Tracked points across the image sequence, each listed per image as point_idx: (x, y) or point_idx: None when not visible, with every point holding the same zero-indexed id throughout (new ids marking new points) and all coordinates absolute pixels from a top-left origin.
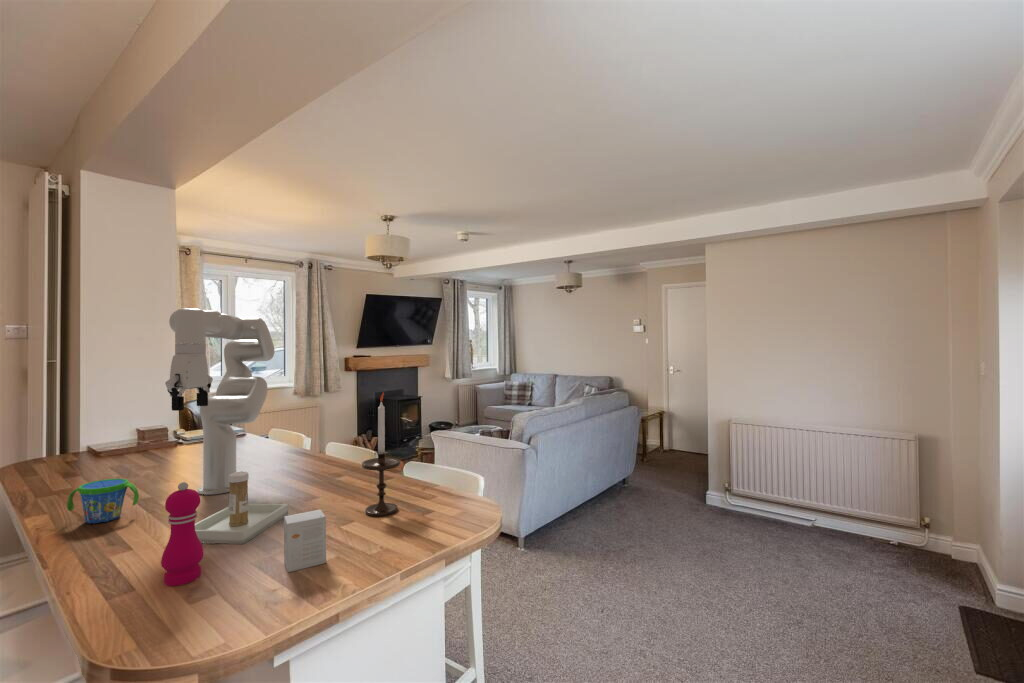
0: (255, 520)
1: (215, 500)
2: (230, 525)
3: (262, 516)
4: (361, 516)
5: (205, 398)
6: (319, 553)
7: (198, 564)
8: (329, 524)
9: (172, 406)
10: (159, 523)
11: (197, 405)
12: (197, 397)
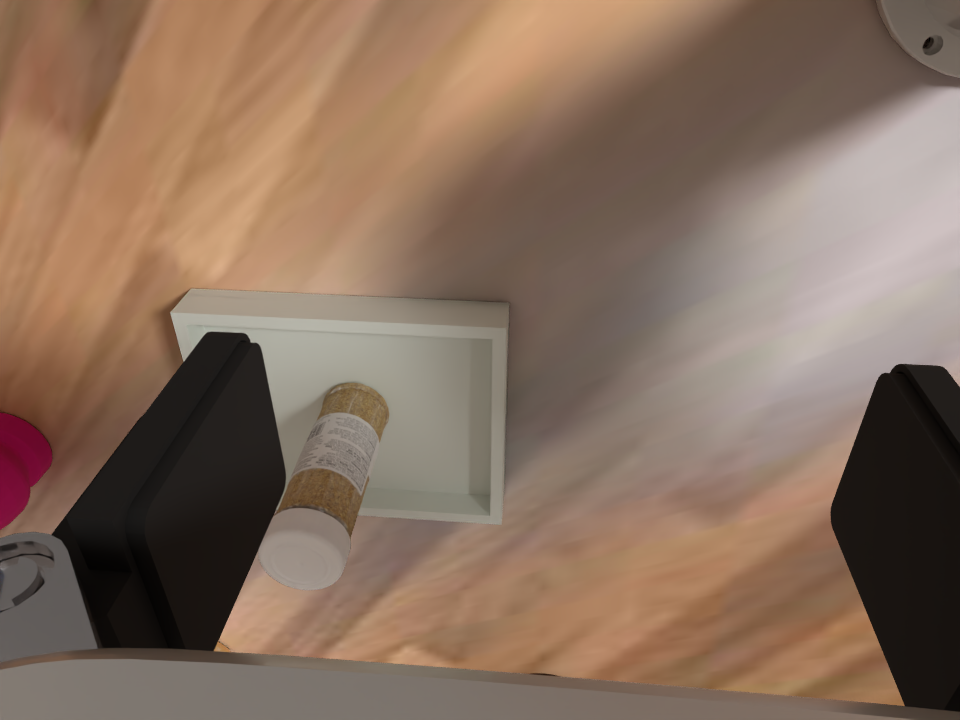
0: (397, 444)
1: (742, 68)
2: (325, 396)
3: (440, 448)
4: (495, 670)
5: (878, 628)
6: None
7: (35, 477)
8: (423, 620)
9: (187, 377)
10: (356, 15)
11: (876, 384)
12: (951, 511)
